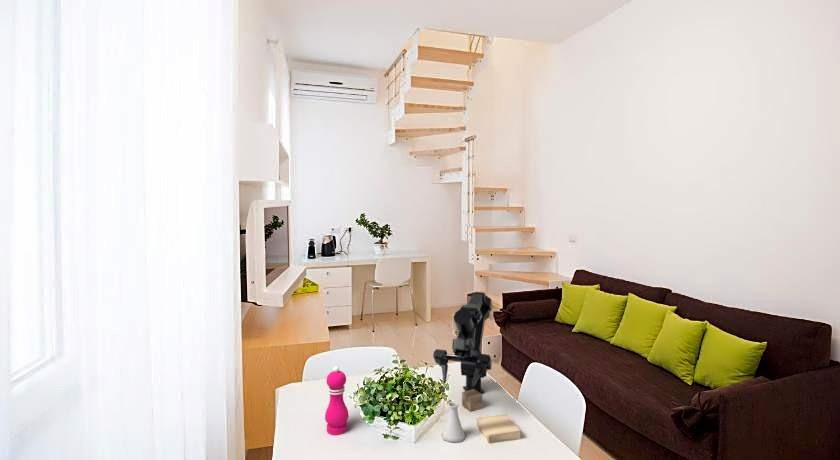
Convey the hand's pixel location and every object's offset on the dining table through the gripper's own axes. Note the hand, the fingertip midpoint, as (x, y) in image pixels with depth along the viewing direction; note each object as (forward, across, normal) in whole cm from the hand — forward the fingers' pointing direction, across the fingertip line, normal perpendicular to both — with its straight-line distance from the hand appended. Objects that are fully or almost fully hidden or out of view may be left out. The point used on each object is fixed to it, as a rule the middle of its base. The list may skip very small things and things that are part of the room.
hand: (458, 384), depth 129 cm
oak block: (+10, +12, +9) cm, 18 cm away
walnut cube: (0, +2, +18) cm, 18 cm away
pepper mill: (+20, -35, -1) cm, 40 cm away
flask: (+14, 0, +4) cm, 15 cm away
